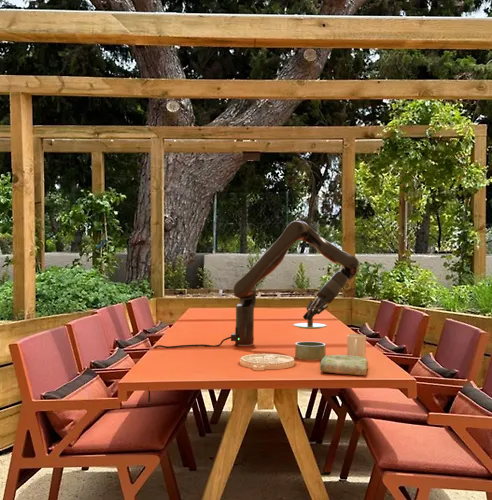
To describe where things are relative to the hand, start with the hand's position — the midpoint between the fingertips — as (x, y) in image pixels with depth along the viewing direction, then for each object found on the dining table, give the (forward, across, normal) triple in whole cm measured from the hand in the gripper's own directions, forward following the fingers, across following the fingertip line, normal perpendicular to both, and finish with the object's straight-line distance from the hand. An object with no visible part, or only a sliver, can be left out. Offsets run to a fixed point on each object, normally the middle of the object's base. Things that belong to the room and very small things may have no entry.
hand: (306, 318), depth 272 cm
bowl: (+11, 0, +14) cm, 18 cm away
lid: (+1, 0, +4) cm, 4 cm away
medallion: (+29, +7, -4) cm, 30 cm away
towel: (+12, +30, +14) cm, 35 cm away
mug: (+2, +18, +23) cm, 30 cm away
